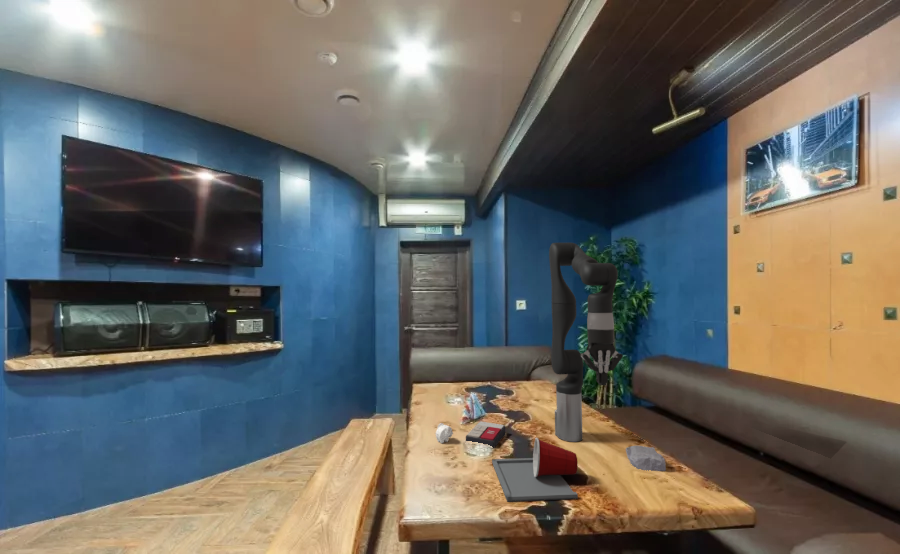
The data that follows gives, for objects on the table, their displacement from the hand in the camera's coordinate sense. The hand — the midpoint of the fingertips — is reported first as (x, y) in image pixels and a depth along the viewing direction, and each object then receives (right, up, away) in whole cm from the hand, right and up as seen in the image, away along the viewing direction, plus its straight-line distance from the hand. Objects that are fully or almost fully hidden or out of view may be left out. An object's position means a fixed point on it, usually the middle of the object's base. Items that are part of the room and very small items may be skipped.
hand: (602, 384), depth 108 cm
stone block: (+16, -28, +7) cm, 33 cm away
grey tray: (-23, -27, -4) cm, 35 cm away
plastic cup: (-9, -23, -2) cm, 25 cm away
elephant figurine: (-49, -29, +25) cm, 62 cm away
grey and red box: (-33, -30, +27) cm, 52 cm away
